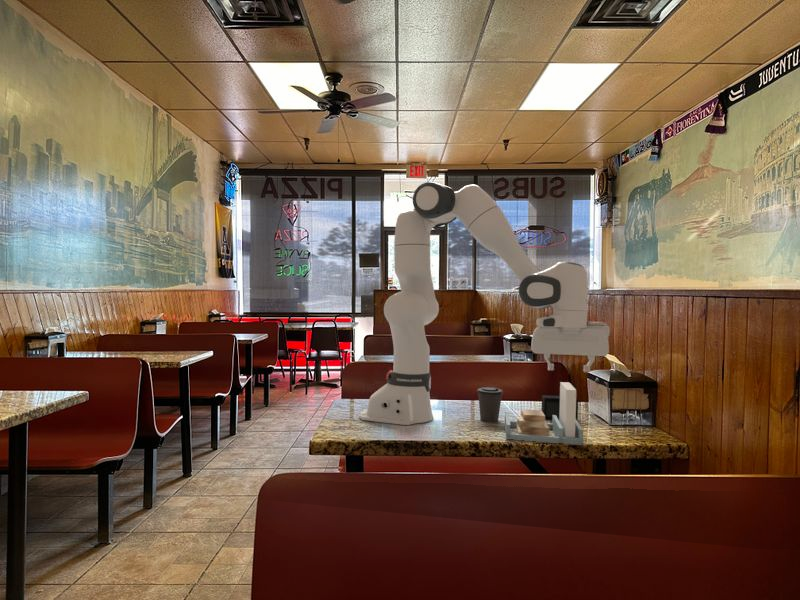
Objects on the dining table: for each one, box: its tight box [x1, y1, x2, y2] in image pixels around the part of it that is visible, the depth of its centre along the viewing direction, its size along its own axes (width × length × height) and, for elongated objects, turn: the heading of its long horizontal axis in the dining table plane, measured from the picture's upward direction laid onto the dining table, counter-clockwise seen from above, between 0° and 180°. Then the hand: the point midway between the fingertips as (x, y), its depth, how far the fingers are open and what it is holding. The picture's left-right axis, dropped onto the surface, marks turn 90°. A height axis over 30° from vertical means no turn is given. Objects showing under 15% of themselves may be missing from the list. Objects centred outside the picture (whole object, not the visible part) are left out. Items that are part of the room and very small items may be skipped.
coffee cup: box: [476, 386, 504, 423], centre depth 157 cm, size 8×8×10 cm
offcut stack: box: [515, 408, 550, 436], centre depth 142 cm, size 8×10×6 cm
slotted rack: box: [504, 411, 584, 446], centre depth 142 cm, size 20×15×4 cm
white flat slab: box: [559, 381, 577, 438], centre depth 140 cm, size 2×12×14 cm, turn 170°
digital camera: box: [541, 395, 579, 422], centre depth 160 cm, size 10×5×7 cm, turn 85°
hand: (568, 371), depth 140 cm, fingers open, 8 cm apart
